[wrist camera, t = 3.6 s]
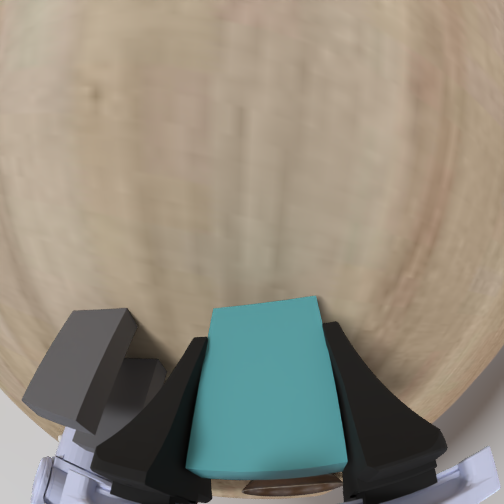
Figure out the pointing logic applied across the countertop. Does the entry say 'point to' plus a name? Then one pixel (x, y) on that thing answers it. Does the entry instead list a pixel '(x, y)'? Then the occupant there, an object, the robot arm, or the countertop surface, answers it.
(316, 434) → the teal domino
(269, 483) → the plant saucer
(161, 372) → the domino block
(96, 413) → the black domino
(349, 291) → the countertop surface
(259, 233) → the countertop surface
